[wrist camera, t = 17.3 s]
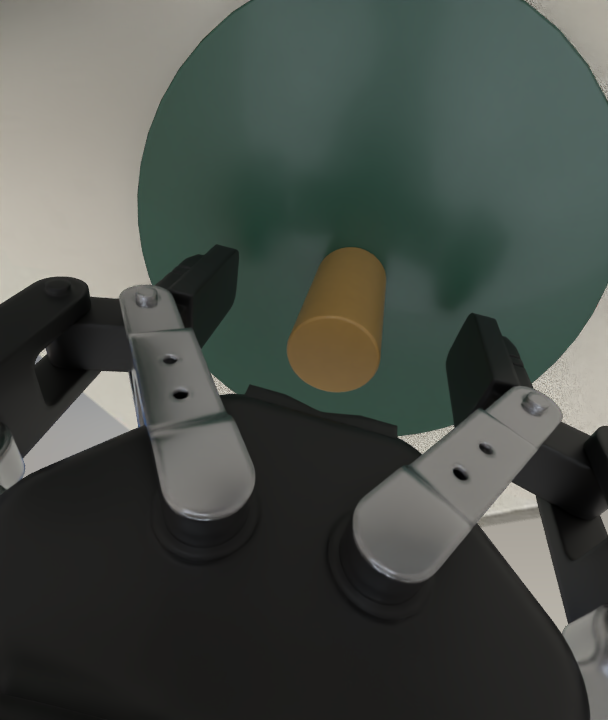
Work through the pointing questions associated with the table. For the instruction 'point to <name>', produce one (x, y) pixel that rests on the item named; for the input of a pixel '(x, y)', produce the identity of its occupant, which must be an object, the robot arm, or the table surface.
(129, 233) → the table surface
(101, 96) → the table surface
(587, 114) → the tin lid
